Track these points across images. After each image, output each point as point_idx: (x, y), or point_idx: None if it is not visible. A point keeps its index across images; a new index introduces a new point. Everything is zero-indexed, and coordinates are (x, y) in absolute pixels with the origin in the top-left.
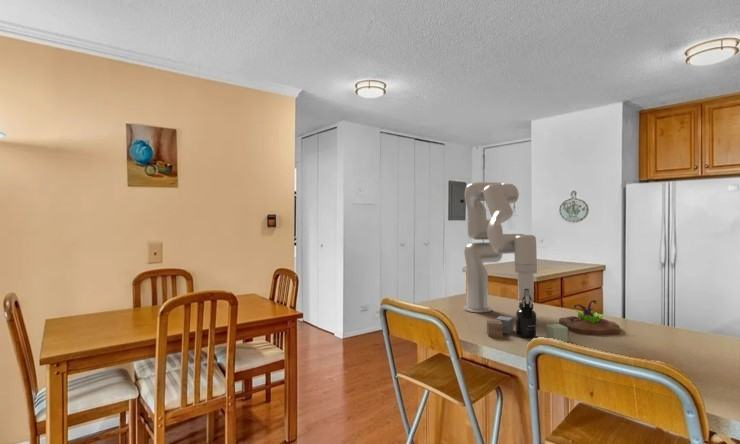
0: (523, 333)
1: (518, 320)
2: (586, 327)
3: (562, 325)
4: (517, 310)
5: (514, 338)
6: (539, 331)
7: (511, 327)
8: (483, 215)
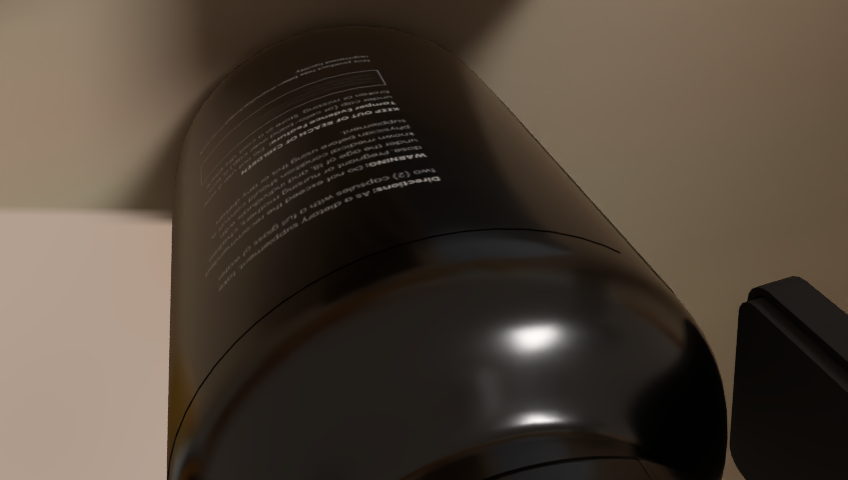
0: (172, 221)
1: (216, 253)
2: None
3: None
4: (481, 331)
5: (45, 40)
6: (671, 285)
7: None
8: None
